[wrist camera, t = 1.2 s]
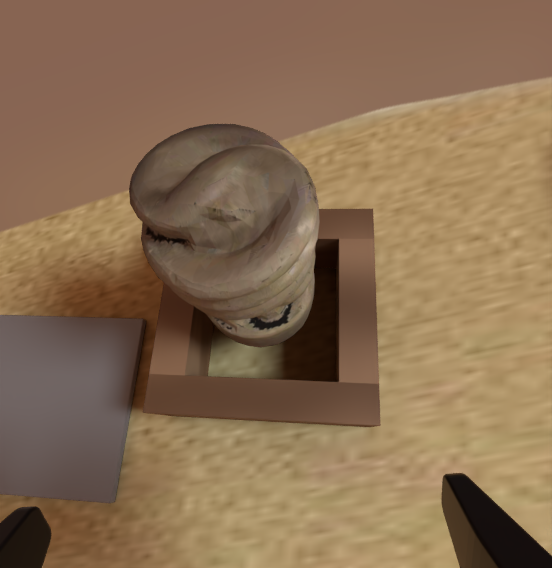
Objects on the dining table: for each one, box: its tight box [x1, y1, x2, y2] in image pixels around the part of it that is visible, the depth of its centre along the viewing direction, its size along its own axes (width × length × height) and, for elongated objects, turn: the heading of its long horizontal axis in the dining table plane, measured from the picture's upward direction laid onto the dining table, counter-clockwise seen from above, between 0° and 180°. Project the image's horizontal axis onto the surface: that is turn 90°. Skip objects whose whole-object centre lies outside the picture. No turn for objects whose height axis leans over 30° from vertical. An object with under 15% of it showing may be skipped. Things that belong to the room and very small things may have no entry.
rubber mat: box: [0, 315, 146, 503], centre depth 23 cm, size 10×10×1 cm
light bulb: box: [129, 124, 320, 347], centre depth 17 cm, size 6×6×15 cm
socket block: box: [143, 209, 380, 427], centre depth 22 cm, size 11×11×4 cm
